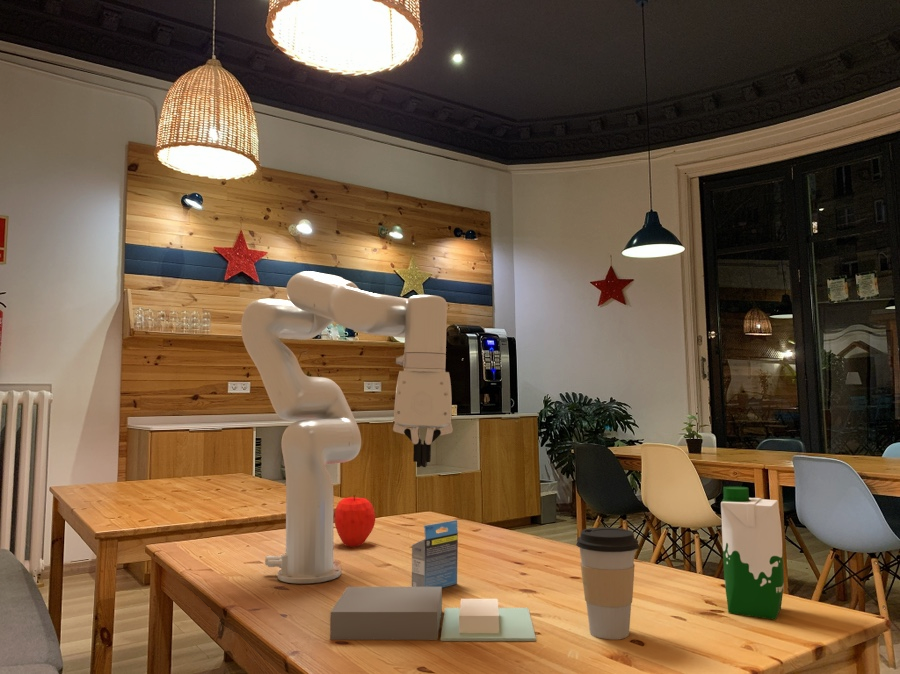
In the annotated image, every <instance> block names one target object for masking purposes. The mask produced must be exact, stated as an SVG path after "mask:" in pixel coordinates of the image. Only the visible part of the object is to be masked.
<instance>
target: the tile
mask: <svg viewBox="0 0 900 674" xmlns="http://www.w3.org/2000/svg"><path fill="white" fill-rule="evenodd" d="M459 608H460V612H459V633H499V611H498V608H499V599H498V598H460V606H459Z"/></svg>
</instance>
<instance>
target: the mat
mask: <svg viewBox="0 0 900 674" xmlns="http://www.w3.org/2000/svg"><path fill="white" fill-rule="evenodd" d="M498 611H499V633H459V612H460V607H444V612H443V613H444V614H443V620H442V625H441V632H440V641H441V642H536V641H537V638H536V634H535V633H536V632H535V629H534V625H533V621H532V618H531V613H530V610H529V607H498Z"/></svg>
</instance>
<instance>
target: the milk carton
mask: <svg viewBox="0 0 900 674" xmlns="http://www.w3.org/2000/svg"><path fill="white" fill-rule="evenodd" d="M722 491H723V499H721V500H722V501H721V502H720V513H721V538H722V539H721V540H722V554H723V555H722V559H723V579H724V588H725V596H726V604H727V612H728V614H734V615H740V616H741V615H742V616H747V617H753V618H760V619H768V620H774V621H775V620H776V619H777V617H778V615H779V613H780V611H781V609H782V603H783V597H784V596H783V593H784V587H785V574H784V573H785V572H784V569H785V568H784V554H783V553H784V552H783V534H782V531H783V530H782V523H781V516H780V508H779V500H777V499H765V498H763V499H762V498H761V497H750V492H749V487H746V486H739V485H737V486H735V485H734V486H732V485H730V486H723V490H722Z"/></svg>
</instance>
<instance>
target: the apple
mask: <svg viewBox="0 0 900 674" xmlns="http://www.w3.org/2000/svg"><path fill="white" fill-rule="evenodd" d="M375 513H376V512H375V509H374V506H373V504H372V503H371V501H370V500H368V499H367V498H365V497H356V496H355V494H354V495H353V497H350V496H349V497H344V498H341V500H339V501H338V503H337V505H336V508H335V509H334V526H335V529H336V531H337V534H338V536H339V538H340V540H341V542H342V543H343V544H344V546H347V547H350V548H351V547H352V548H353V547H354V548H355V546H357V547H360V546H361V545H363V544H364V543H365V542H366V540H367V539H368V537H369V536H370V534H371V533H372V531H373V530H374V527H375V523H376V514H375Z"/></svg>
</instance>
